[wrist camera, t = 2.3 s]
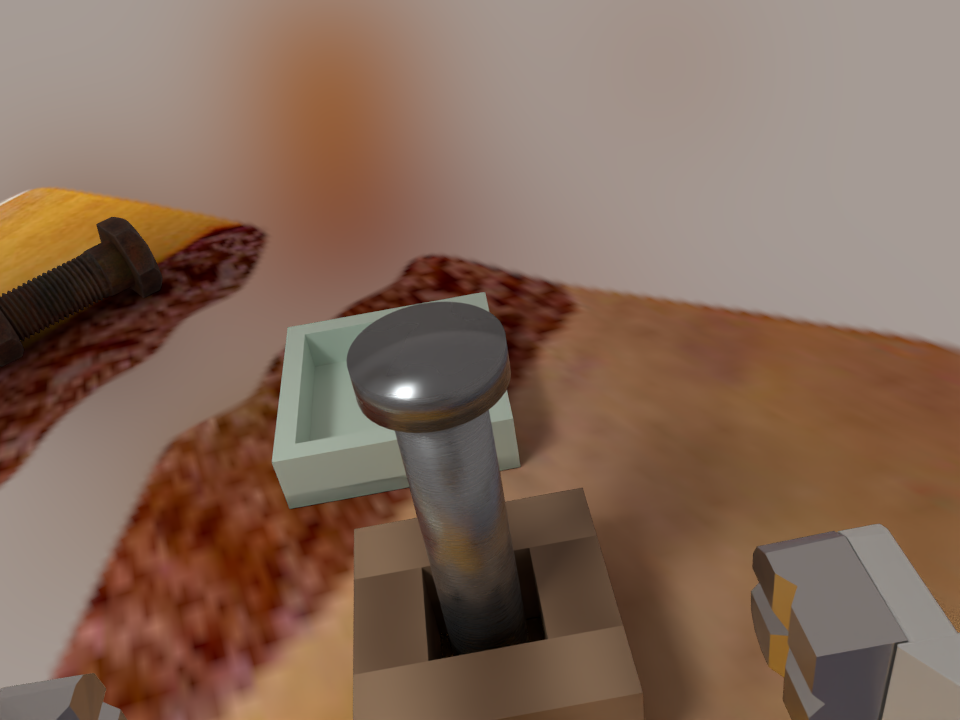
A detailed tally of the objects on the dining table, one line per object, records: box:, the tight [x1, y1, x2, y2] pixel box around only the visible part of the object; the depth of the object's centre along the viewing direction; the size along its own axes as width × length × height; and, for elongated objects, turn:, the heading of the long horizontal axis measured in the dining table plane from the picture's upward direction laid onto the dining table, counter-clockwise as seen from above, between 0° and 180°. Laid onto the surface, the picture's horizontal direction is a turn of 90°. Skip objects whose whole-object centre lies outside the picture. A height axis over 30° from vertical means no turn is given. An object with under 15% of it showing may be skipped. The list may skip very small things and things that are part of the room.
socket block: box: [353, 488, 644, 720], centre depth 32 cm, size 9×9×4 cm
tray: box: [272, 292, 521, 509], centre depth 45 cm, size 11×11×3 cm
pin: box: [346, 302, 530, 656], centre depth 29 cm, size 4×4×15 cm
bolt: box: [0, 217, 162, 367], centre depth 57 cm, size 6×5×15 cm
